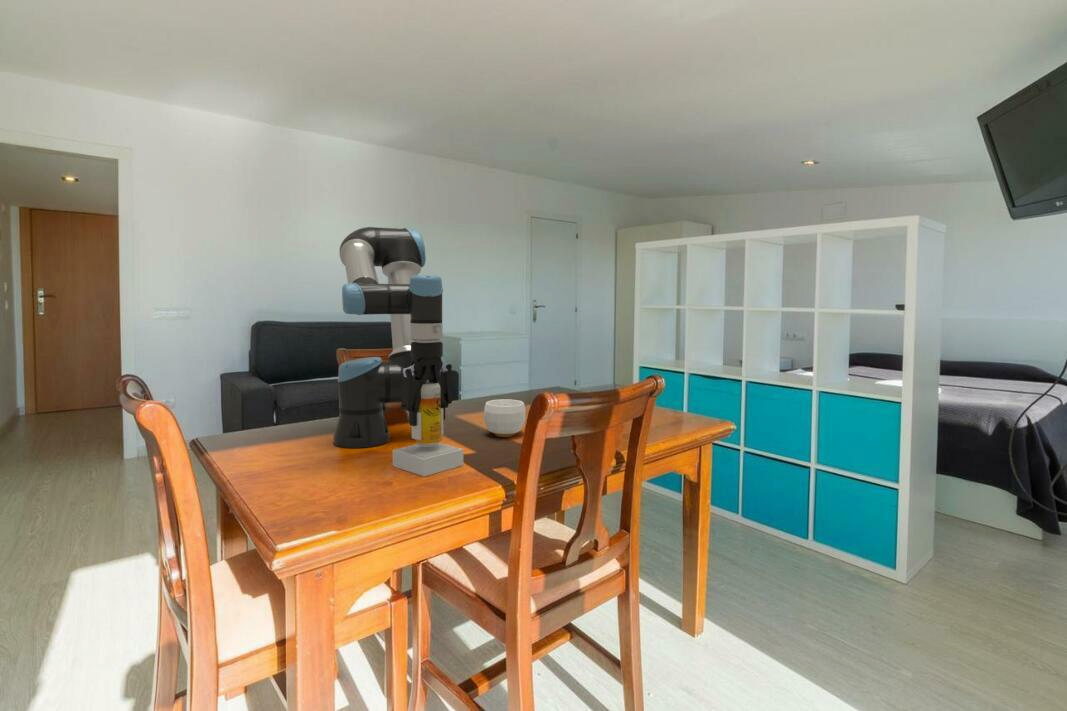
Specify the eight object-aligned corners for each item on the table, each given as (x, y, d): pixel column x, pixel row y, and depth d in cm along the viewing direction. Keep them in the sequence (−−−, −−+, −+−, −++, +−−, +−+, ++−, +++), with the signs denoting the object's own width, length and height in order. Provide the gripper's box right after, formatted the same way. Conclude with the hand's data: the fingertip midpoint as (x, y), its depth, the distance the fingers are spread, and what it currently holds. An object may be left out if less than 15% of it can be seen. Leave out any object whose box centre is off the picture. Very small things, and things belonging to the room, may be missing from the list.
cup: (477, 437, 169) (477, 405, 168) (493, 428, 180) (493, 397, 179) (517, 441, 165) (517, 407, 164) (531, 431, 177) (531, 400, 176)
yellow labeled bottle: (435, 447, 137) (434, 385, 135) (411, 446, 138) (410, 384, 137) (444, 441, 143) (444, 381, 141) (421, 440, 144) (420, 380, 143)
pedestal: (392, 466, 141) (392, 448, 140) (432, 455, 150) (431, 439, 149) (424, 476, 133) (423, 458, 132) (463, 465, 142) (463, 448, 141)
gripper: (403, 344, 128) (404, 446, 131) (467, 339, 143) (467, 431, 145) (383, 342, 133) (385, 440, 136) (447, 337, 148) (448, 427, 150)
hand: (427, 436), depth 140 cm, fingers closed on yellow labeled bottle, 6 cm apart
